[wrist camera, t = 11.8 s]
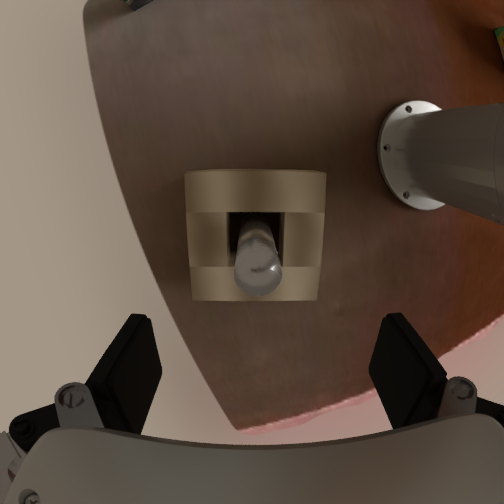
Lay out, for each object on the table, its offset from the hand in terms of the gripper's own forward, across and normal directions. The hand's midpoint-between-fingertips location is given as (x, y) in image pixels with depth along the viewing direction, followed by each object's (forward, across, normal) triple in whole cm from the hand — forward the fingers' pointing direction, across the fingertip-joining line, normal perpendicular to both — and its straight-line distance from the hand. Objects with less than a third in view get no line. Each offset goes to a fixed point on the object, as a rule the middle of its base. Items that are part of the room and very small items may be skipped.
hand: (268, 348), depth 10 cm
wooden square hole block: (+19, 0, 0) cm, 19 cm away
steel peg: (+20, 0, 0) cm, 20 cm away
